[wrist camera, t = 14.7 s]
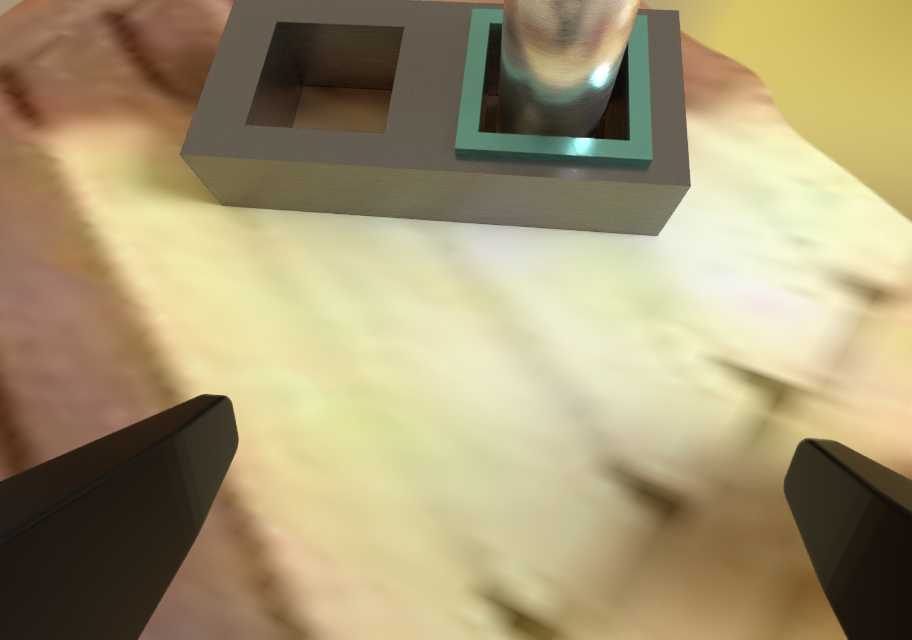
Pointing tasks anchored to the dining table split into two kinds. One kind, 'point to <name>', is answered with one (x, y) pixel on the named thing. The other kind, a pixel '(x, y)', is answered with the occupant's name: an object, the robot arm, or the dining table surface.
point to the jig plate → (431, 121)
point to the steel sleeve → (560, 64)
